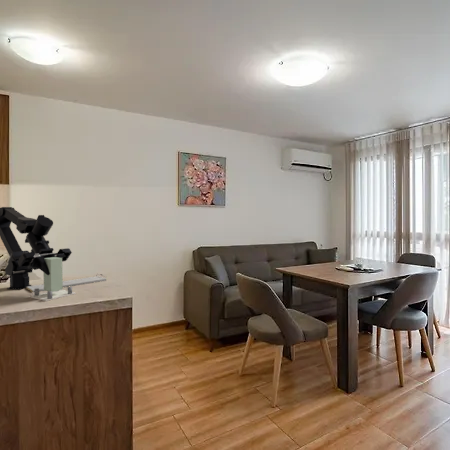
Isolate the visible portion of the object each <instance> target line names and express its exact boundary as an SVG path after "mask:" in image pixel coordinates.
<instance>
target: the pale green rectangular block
mask: <svg viewBox="0 0 450 450" xmlns="http://www.w3.org/2000/svg"><path fill="white" fill-rule="evenodd" d="M44 259H45V262H46V264H47V266H48V269H49V272H50V274H49V275H47V274H45V273H44V272H43V284H44V290H45V291H46V292H48V291H52V292H54V291H58V290H64V289H63V281H64V280H63V262H62V258H58V257H51V258H44Z"/></svg>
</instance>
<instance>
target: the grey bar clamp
mask: <svg viewBox="0 0 450 450" xmlns="http://www.w3.org/2000/svg"><path fill="white" fill-rule="evenodd" d="M100 281H101V282H105V281H106V282H107V277H106V276H104V275H103V274H98V273H97V275H96V276H95V275H94V276H90V277H82V278H76V279H69V280H63V287H64V288H68V287H69V286H70V287H75V286H80V285H81V286H82V285H87V284H93V283H94V282H95V283H100ZM95 283H94V284H95ZM26 288H27V289H26ZM26 288H25V289H26V290H28V291H29V290H30V292H31V293H32V292H33V293H34V289H36V288H39V292H44V291H45V290H44V283H43V284H41V283H40V284H35V285H31V286H28V287H26Z"/></svg>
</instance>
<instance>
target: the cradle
mask: <svg viewBox="0 0 450 450" xmlns="http://www.w3.org/2000/svg"><path fill="white" fill-rule="evenodd" d="M33 293H34V295H30V298H31V299H35V300H40V301H43V302H48V301H53V300H56V299H60V298H65V297H68V296H72V295H76V294H77V293H76V292H75V291H73V286H70V287H67V290H65V289H63V290H58V291H54V292H52V291H46V292H43V293H40V291H39V288H36V289H34V292H33Z"/></svg>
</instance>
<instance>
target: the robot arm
mask: <svg viewBox="0 0 450 450" xmlns="http://www.w3.org/2000/svg"><path fill="white" fill-rule="evenodd" d="M11 223H12V224H13V225H15V228H16V230H17V232H19V233H20V234H21V235H22V234H26V236H25V240H24V243H25V244H29V246H30V248H31V250H30V251H29V250H23V249H22V247H21V246H20V244H19V241H18V240H17V238H16V237H15V235H14V233H13V230H12V228H11ZM53 225H54V221H53V220H52V219H51V218H49V217H48V216H47V217H46V216H45V215H44V214H38V216H37V218H33V217H26V216H25V215H23V214H22V213H21V212H19V211H18V210H16V209H15V207H12V206H2V207H0V239H1V242H2V243H3V246H4V247H5V249H6V253H8V255H9V257H8V261H7V265H6V267H5V269H4V271H5V272H4V273H5V275H6V276H9V286H8V287H7V288H6V289H7V290H23V289H26V287H28V286H32V284H30V276H29V273H33V270H34V271H36V270H39V271H41V272H43V274H44V273H45V274H47V275H49V274H50V272H49V269H48V266H47V264H46V262H45V259H44V258H51V257H58V258H62V263H63V262H66V261H68V260H69V257H70V256H71V254H72V253H73V252H72V250H71V248H68V247H67V248H59V249H58V251H57V252H53V251H55V250H54V248H53V247H50V245H49V244H50V240H46V238H45V236H47V235H48V234H49V232H50V230H51V228H53Z"/></svg>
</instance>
